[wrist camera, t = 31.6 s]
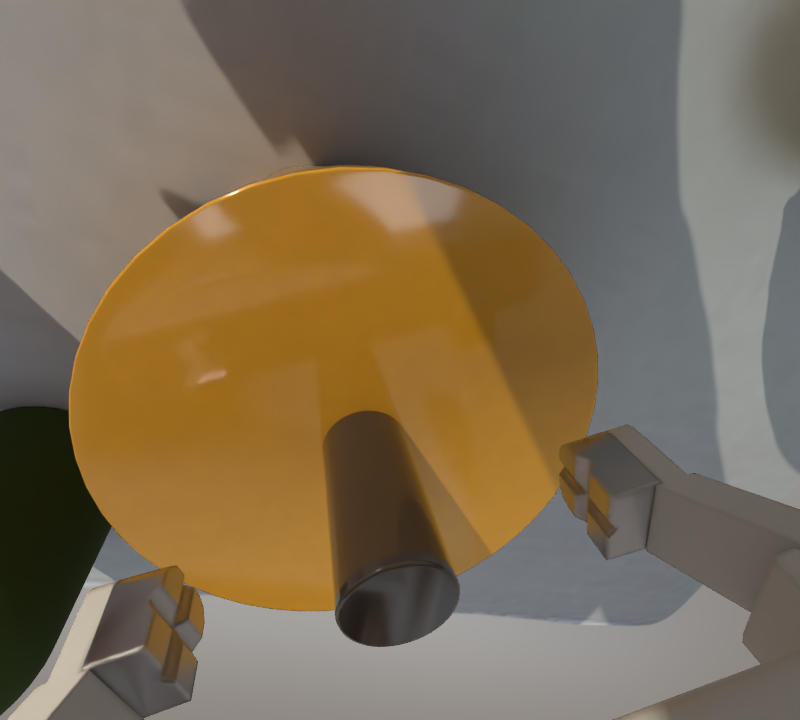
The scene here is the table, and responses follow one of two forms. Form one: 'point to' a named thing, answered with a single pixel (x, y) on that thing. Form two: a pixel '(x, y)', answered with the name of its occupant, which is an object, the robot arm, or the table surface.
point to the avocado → (40, 540)
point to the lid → (334, 394)
